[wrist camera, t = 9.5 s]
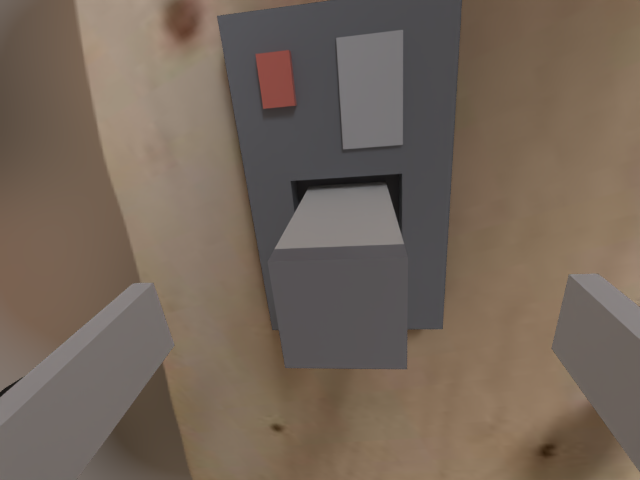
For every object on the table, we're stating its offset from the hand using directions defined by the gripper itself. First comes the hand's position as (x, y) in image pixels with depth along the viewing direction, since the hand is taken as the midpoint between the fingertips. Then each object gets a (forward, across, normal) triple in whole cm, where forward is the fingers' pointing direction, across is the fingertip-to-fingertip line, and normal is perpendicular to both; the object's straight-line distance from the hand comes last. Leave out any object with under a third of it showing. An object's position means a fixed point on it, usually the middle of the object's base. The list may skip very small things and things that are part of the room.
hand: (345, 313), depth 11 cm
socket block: (+11, 0, +1) cm, 11 cm away
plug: (+10, 0, -1) cm, 10 cm away
